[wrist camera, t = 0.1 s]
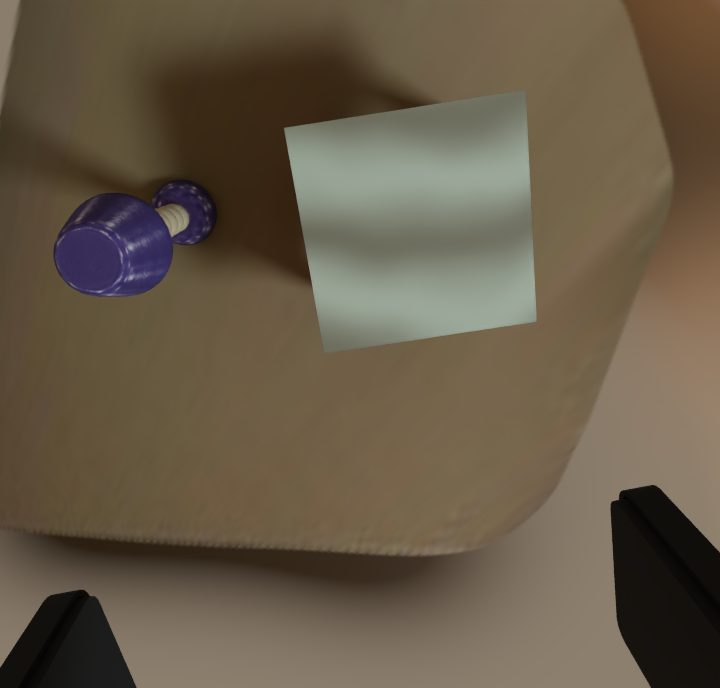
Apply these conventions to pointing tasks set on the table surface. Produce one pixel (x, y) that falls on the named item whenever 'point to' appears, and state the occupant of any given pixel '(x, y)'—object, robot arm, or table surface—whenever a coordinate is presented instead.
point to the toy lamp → (130, 238)
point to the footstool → (417, 220)
